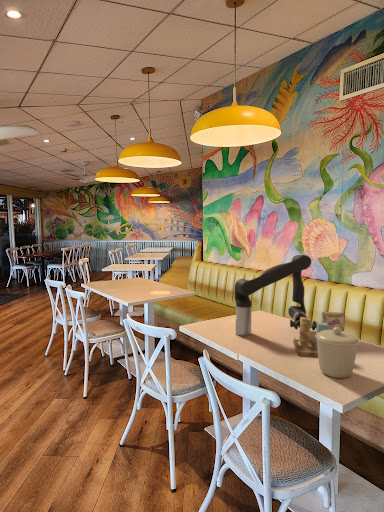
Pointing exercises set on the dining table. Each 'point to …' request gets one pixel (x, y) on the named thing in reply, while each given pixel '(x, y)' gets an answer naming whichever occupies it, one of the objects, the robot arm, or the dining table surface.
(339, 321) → the candy bar box
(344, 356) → the canister
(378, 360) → the dining table surface
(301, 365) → the dining table surface
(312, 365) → the dining table surface
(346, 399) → the dining table surface
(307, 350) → the frame base
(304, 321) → the oak post
